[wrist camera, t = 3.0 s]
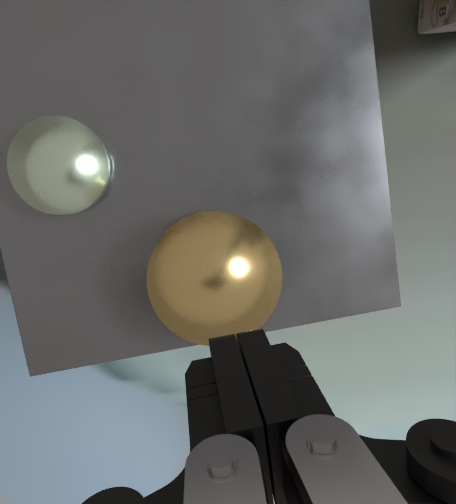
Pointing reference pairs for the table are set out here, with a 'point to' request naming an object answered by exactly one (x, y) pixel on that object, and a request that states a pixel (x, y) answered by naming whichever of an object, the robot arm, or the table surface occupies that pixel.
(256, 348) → the robot arm
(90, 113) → the level plate
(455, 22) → the coffee box
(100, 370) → the table surface
